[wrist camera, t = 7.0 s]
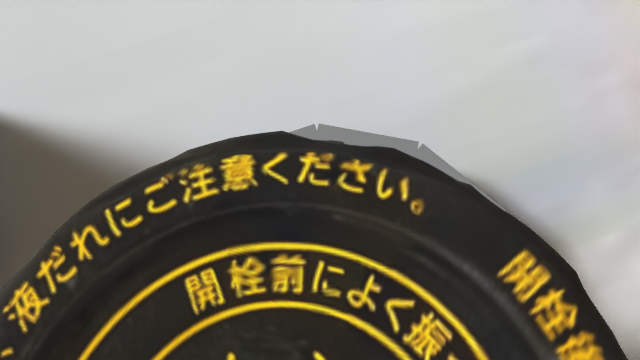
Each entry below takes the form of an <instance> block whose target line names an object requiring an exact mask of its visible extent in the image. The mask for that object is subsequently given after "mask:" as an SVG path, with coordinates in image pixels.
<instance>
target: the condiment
mask: <svg viewBox="0 0 640 360" xmlns="http://www.w3.org/2000/svg"><path fill="white" fill-rule="evenodd" d="M0 360H628V359H627V358H626V356H625V354H624V353H623V351H622V349H621V348H620V346H619V344H618V342H617V340H616V338H615V336H614V334H613V332H612V331H611V329H610V328H609V326H608V325H607V323H606V322H605V320H604V319H603V317H602V316H601V314H600V313H599V311H598V310H597V308H596V307H595V306H594V304H593V303H592V301H591V300H590V298H589V296H588V295H587V293H586V291H585V290H584V288H583V286H582V284H581V281H580V279H579V277H578V275H577V273H576V271H575V270H574V269H573V268H572V267H571V266H570V265H569V264H568V263H567V262H566V261H565V260H564V259H563V258H562V257H561V256H560V255H559V254H558V253H557V252H556V251H555V250H554V249H553V248H552V247H551V246H550V245H548V244H547V243H546V242H545V241H544V240H543V239H542V238H541V237H539V236H538V235H537V234H536V233H535V232H533V231H532V230H531V229H530V228H529V227H527V226H526V225H525V224H523V223H522V222H520V221H519V220H518V219H516V218H515V217H514V216H512V215H511V214H509V213H507V212H505V211H504V210H502V209H501V208H500V207H498V206H497V205H495V204H494V203H493V202H491V201H490V200H489V199H487V198H486V197H485V196H483V195H482V194H481V193H480V192H479V191H477V190H476V189H475V188H474V187H473V186H472V185H470V184H467V183H464V182H461V181H458V180H456V179H454V178H453V177H451V176H449V175H448V174H446V173H444V172H443V171H441V170H439V169H437V168H436V167H434V166H432V165H430V164H429V163H426V162H424V161H422V160H420V159H418V158H415V157H413V156H411V155H408V154H406V153H404V152H402V151H399V150H397V149H395V148H390V147H382V146H358V145H349V144H344V142H341V141H334V140H328V141H324V140H312V139H309V138H305V137H302V136H298V135H295V134H291V133H288V132H284V131H277V132H268V133H260V134H253V135H246V136H240V137H234V138H229V139H226V140H222V141H218V142H214V143H211V144H207V145H204V146H201V147H197V148H194V149H190V150H188V151H186V152H184V153H182V154H180V155H178V156H176V157H174V158H172V159H170V160H168V161H165V162H163V163H160V164H158V165H155V166H152V167H150V168H148V169H146V170H144V171H142V172H140V173H138V174H136V175H134V176H132V177H130V178H128V179H126V180H124V181H122V182H120V183H118V184H116V185H114V186H113V187H111V188H110V189H108V190H107V191H105V192H104V193H102V194H101V195H99V196H98V197H96V198H95V199H93V200H91V201H90V202H89V203H88V204H87V205H85V206H84V207H83V208H82V209H81V210H80V211H78V212H77V213H76V214H75V215H74V216H72V217H71V218H70V219H69V220H68V221H67V222H66V223H65V224H64V225H63V226H61V227H60V228H59V229H58V230H57V231H56V232H55V233H54V235H53V236H52V237H51V238H50V239H49V240H48V241H47V243H46V244H45V245H44V247H43V248H42V249H41V250H40V251H39V253H38V254H37V255H36V256H35V257H34V258H33V260H32V261H30V262H29V263H28V264H27V265H26V266H25V267H23V268H22V269H21V270H20V271H19V272H18V273H17V274H16V275H14V276H13V277H12V279H11V280H10V281H9V282H8V283H7V284H6V285H5V286H4V288H3V289H2V290H1V291H0Z"/></svg>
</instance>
